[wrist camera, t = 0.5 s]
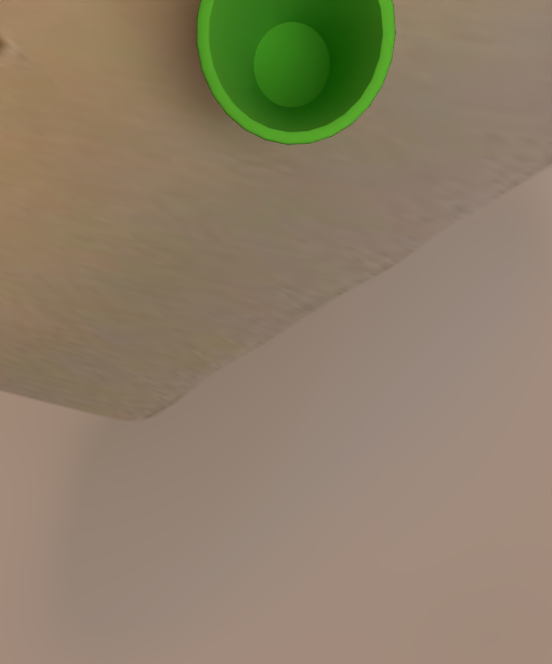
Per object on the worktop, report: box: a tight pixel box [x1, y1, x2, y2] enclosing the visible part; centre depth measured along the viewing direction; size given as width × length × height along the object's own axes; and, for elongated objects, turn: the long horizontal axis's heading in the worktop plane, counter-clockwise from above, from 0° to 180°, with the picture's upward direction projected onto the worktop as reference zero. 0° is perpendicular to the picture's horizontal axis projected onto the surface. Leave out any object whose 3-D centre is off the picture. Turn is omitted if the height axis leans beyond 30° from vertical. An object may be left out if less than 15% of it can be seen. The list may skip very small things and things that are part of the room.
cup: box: [197, 0, 396, 145], centre depth 28 cm, size 9×9×11 cm
